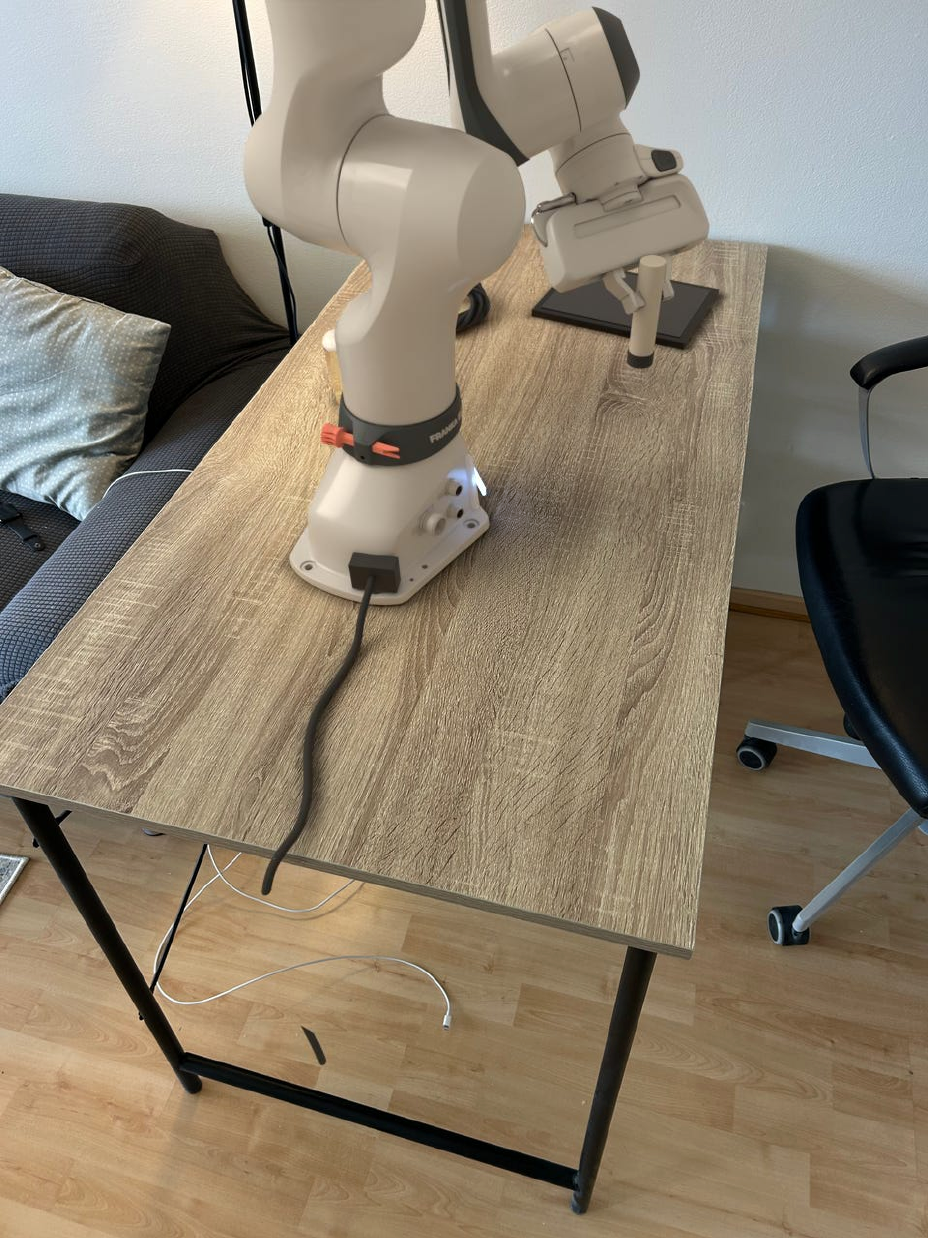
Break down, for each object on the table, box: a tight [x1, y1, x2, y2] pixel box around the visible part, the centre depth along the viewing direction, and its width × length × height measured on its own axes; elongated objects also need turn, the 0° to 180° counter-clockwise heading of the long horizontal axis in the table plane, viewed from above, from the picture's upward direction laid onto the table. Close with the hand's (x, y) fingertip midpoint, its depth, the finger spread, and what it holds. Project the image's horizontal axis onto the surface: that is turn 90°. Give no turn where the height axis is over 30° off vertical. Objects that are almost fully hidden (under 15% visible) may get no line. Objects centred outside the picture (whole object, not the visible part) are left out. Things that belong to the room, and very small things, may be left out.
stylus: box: [626, 255, 666, 370], centre depth 99 cm, size 3×3×12 cm
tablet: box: [531, 270, 720, 350], centre depth 126 cm, size 16×22×1 cm
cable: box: [456, 281, 491, 332], centre depth 125 cm, size 17×14×4 cm
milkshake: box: [321, 328, 343, 405], centre depth 109 cm, size 5×5×10 cm
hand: (651, 305), depth 98 cm, fingers closed on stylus, 3 cm apart
